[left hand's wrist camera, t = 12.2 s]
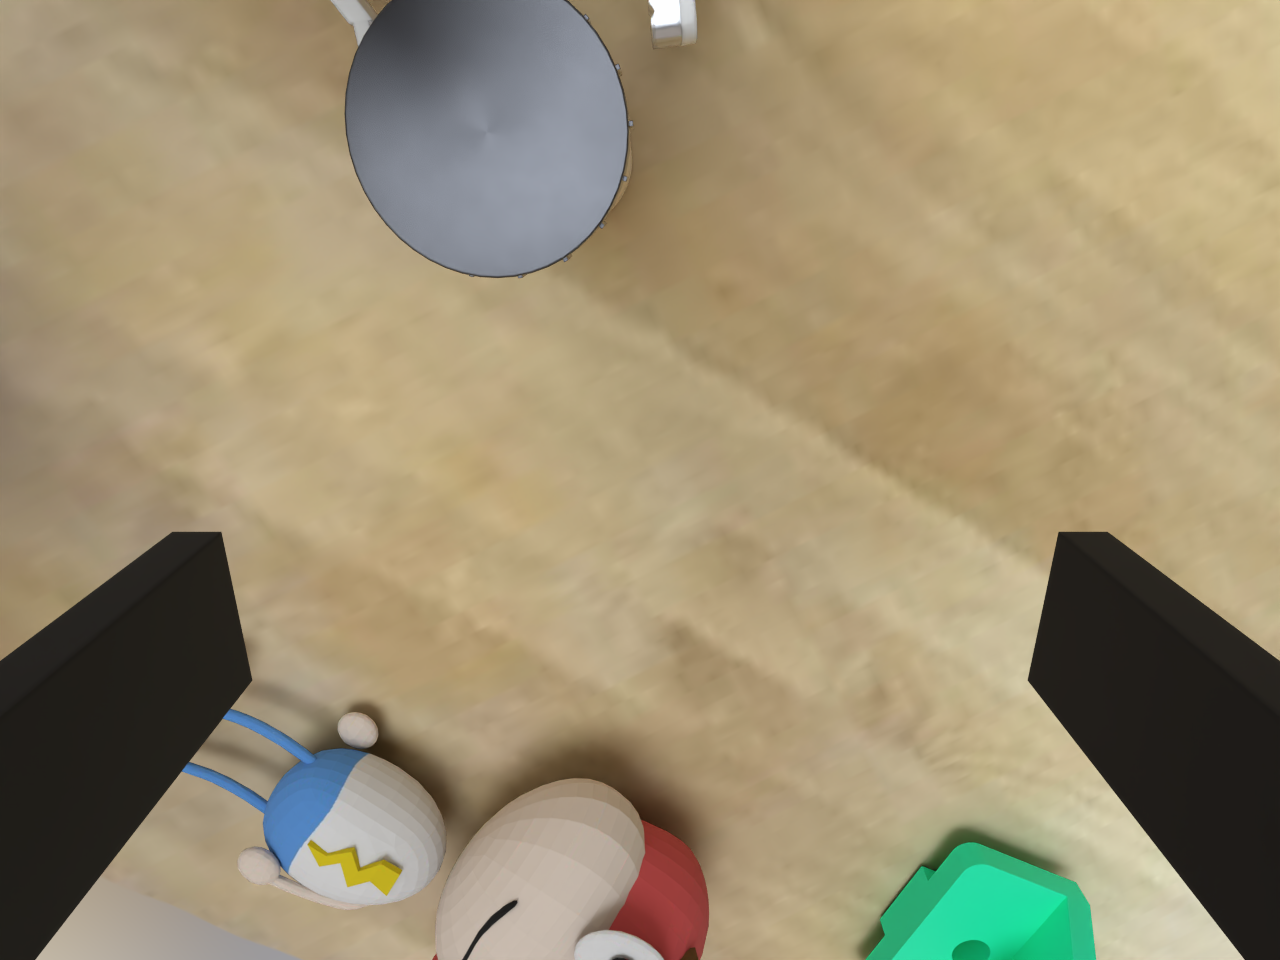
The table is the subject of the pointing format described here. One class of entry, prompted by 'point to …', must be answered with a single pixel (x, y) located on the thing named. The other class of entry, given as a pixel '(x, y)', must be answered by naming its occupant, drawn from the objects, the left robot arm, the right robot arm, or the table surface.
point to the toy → (477, 858)
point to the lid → (488, 130)
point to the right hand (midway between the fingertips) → (534, 65)
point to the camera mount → (987, 912)
